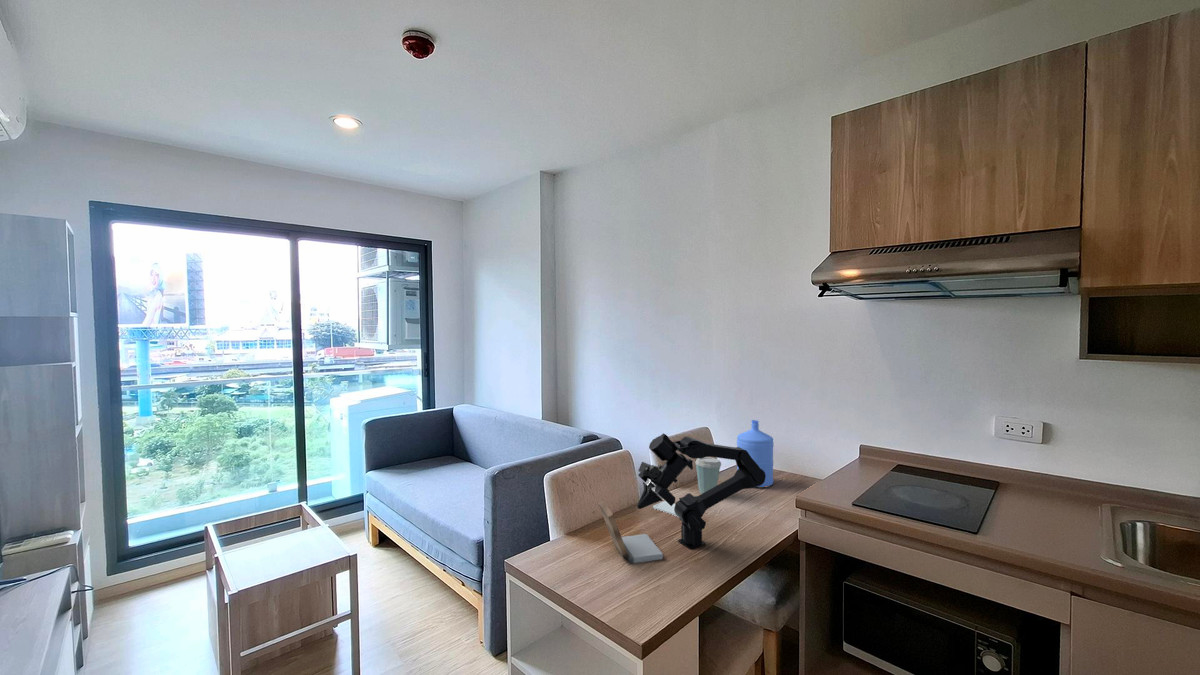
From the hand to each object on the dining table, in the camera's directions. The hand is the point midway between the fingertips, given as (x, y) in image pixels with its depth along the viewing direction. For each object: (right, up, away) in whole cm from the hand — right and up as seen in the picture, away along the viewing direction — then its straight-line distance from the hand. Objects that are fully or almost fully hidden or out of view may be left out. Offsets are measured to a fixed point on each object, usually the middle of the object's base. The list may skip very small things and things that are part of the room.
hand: (638, 507), depth 145 cm
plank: (-9, -6, -2) cm, 11 cm away
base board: (0, -13, 0) cm, 13 cm away
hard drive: (+16, -14, +33) cm, 39 cm away
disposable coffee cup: (+34, -13, +50) cm, 61 cm away
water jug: (+58, -12, +64) cm, 87 cm away
